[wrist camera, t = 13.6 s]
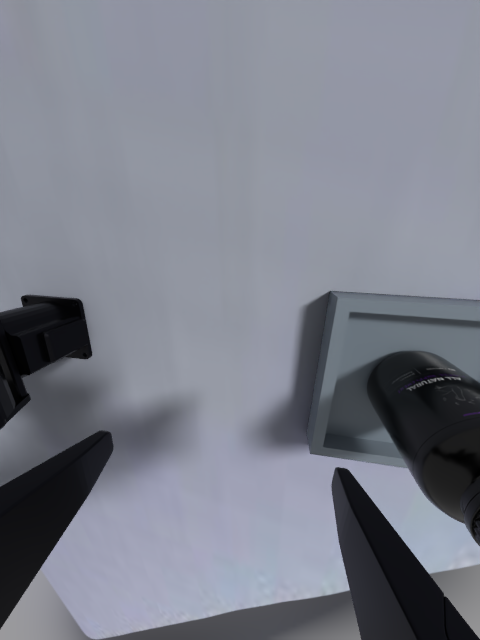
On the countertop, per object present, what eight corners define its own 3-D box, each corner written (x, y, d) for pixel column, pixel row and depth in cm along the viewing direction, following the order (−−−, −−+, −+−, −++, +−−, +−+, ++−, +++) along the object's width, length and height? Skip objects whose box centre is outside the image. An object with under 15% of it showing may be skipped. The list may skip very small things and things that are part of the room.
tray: (306, 433, 24) (310, 453, 21) (330, 290, 19) (338, 297, 17) (466, 455, 22) (490, 480, 19) (537, 303, 17) (579, 313, 15)
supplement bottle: (404, 332, 18) (615, 472, 7) (471, 376, 19) (776, 580, 7) (346, 389, 21) (433, 564, 9) (406, 428, 21) (561, 643, 10)
